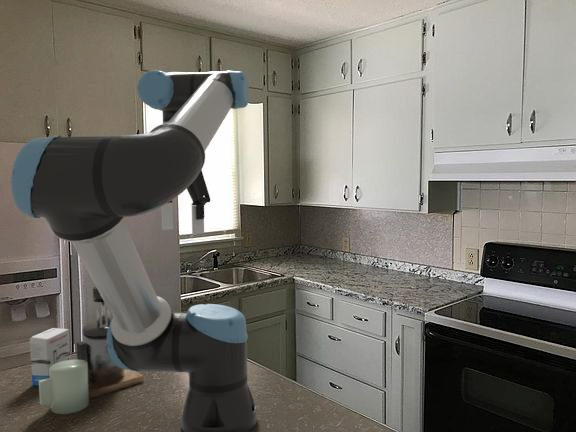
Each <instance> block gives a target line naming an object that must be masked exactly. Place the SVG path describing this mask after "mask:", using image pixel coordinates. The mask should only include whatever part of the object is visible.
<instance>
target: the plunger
mask: <svg viewBox="0 0 576 432" xmlns="http://www.w3.org/2000/svg"><path fill="white" fill-rule="evenodd" d="M92 301H93V302H95V303H100V304H101V305H100V308H101V309H100V310H101V322H102V325H105V324H106V321H107V319H106V304H105V302H104V300H103V298H102V296H101V295H100V293H99V291H98V289H97V287H96V286H94V287H92Z"/></svg>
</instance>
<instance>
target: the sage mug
mask: <svg viewBox="0 0 576 432" xmlns="http://www.w3.org/2000/svg"><path fill="white" fill-rule="evenodd" d="M49 375H50V378H47V379H44V380H40V381H39V386H38V393H39V394H38V395H39V404H40V406H43V405H48V404H50V406H51V407H50V408H51V409H50V411H51V412H52V413H53V414H56V415H57V414H58V415H68V414H69V415H70V414H74V413H77V412H81V411H82V410H85V409H86V408H87V407H88V406H89V405H90V398H89V387H88V364H87V362H86V361H85V360H79V359H77V358H75V359H70V360H66V361H62V362H58V363H56V364H54V365H52V366H51V367H50V368H49Z"/></svg>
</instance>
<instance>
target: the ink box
mask: <svg viewBox="0 0 576 432" xmlns="http://www.w3.org/2000/svg"><path fill="white" fill-rule="evenodd" d="M29 348H30V364H31V366H30V367H31V383H32V386H38V387H39V381H40V380H44V379H47V378H50V375H49V368H50V367H51V366H52V365H54V364H56V363H58V362H62V361H66V360H71V355H70V352H71V351H70V331H69V328H60V327H59V328H58V327H52V328H49V329H47V330H44V331H42V332H40V333H37V334H35V335H32V336H31V337H30V338H29Z"/></svg>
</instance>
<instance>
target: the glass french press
mask: <svg viewBox="0 0 576 432" xmlns="http://www.w3.org/2000/svg"><path fill="white" fill-rule="evenodd" d="M106 309H107V313H106V314H107V320H106V324H105V325H102V321H101V319H100V307H96V322H93V323H89V324H87V325H84V326H83V328H82V336H83V338H84V339H83V340H84V341H82V340H80V341H78V342H76V359H79V360H85V361H86V362H87V364H88V387H89V399H92V398H96V397H99V396H102V395H106V394H109V393H112V392H115V391H118V390H121V389H124V388H127V387H131V386H134V385H137V384H139V383H144V374H141V373H140V372H139V371H131V370H128V369H122V368H119V367H118V366H116V365H115V364H114V363H113V361H112V360H111V358H110V356H109V353H108V347H109V344H108V343H107V332H108V328H109V325H110V323H111V321H112V320H111V313H110V311H109V309H108V307H107V306H106Z"/></svg>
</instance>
